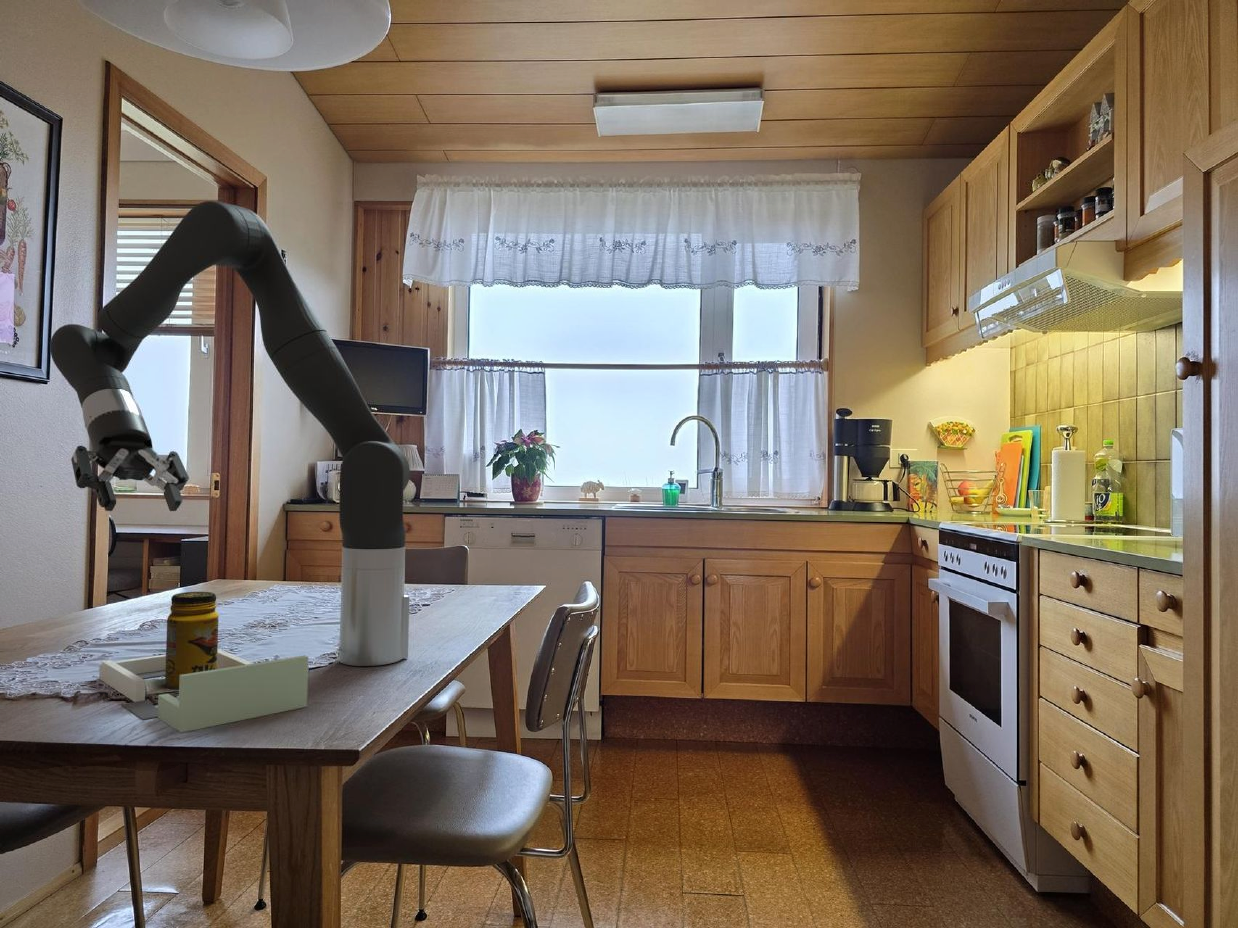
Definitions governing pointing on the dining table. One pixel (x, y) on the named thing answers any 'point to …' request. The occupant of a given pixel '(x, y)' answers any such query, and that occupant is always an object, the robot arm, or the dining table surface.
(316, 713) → the dining table surface
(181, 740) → the dining table surface
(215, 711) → the track
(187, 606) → the condiment
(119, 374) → the robot arm
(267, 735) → the dining table surface
